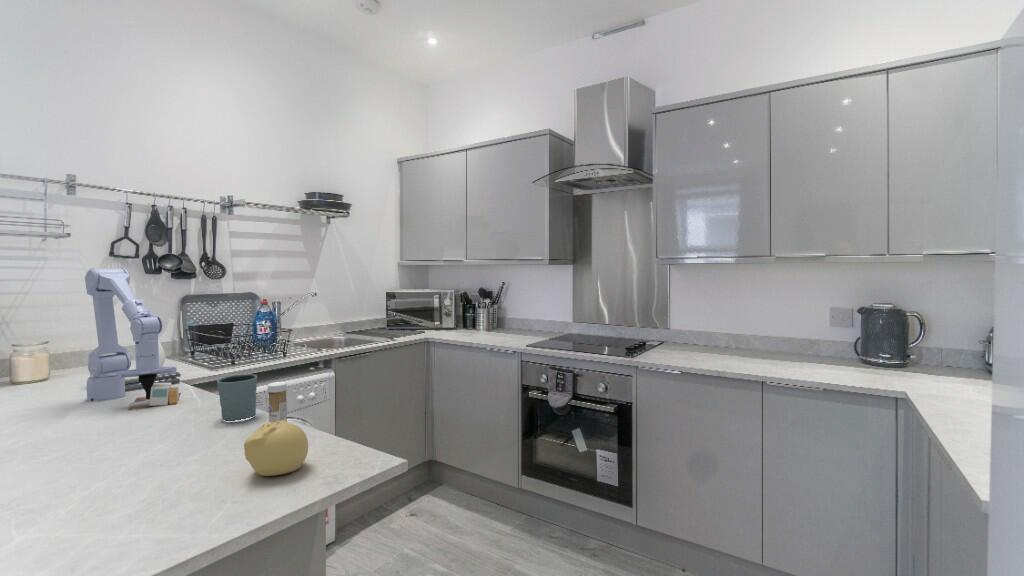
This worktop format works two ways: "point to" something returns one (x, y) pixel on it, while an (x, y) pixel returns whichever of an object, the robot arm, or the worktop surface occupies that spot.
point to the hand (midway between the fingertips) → (148, 398)
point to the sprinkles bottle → (277, 401)
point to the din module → (160, 394)
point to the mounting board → (147, 406)
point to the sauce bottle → (161, 355)
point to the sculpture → (276, 448)
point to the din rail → (172, 399)
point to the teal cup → (237, 396)
